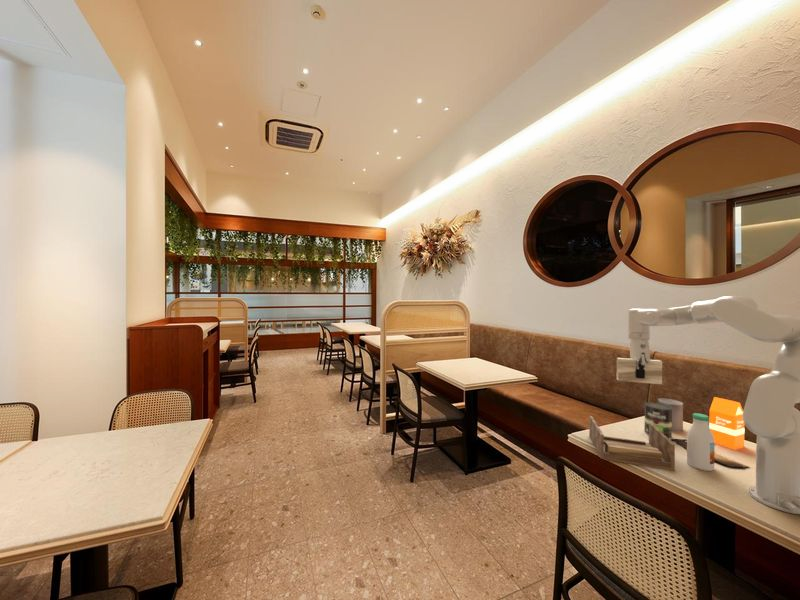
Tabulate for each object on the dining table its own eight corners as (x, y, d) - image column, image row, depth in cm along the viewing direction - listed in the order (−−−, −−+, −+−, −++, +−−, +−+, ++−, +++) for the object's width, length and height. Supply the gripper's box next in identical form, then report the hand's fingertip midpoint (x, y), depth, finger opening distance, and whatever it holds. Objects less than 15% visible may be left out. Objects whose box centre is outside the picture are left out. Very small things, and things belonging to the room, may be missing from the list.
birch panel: (662, 384, 136) (662, 361, 136) (618, 380, 142) (618, 358, 142) (659, 382, 139) (659, 360, 139) (616, 379, 145) (616, 357, 145)
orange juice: (718, 438, 146) (718, 395, 146) (744, 447, 138) (745, 401, 138) (708, 441, 143) (709, 397, 143) (735, 450, 135) (735, 403, 135)
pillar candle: (660, 423, 164) (660, 394, 164) (685, 429, 157) (685, 399, 157) (655, 427, 158) (655, 398, 158) (680, 434, 151) (680, 403, 151)
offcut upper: (662, 458, 122) (662, 453, 122) (608, 451, 128) (608, 446, 128) (656, 453, 126) (656, 448, 126) (605, 446, 132) (605, 441, 132)
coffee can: (670, 442, 142) (670, 411, 142) (642, 434, 150) (642, 405, 150) (673, 435, 149) (674, 406, 149) (646, 428, 157) (646, 400, 157)
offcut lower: (661, 463, 122) (661, 458, 122) (607, 455, 128) (607, 450, 128) (656, 457, 126) (656, 452, 126) (604, 450, 133) (604, 445, 133)
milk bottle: (704, 472, 117) (704, 419, 117) (681, 462, 125) (682, 412, 125) (719, 470, 119) (720, 417, 119) (696, 460, 127) (697, 410, 126)
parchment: (752, 468, 120) (752, 466, 120) (730, 469, 119) (730, 467, 119) (684, 440, 145) (684, 438, 145) (666, 441, 143) (666, 439, 143)
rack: (674, 471, 118) (674, 444, 118) (600, 459, 127) (600, 434, 127) (651, 445, 139) (651, 423, 139) (589, 436, 148) (589, 415, 147)
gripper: (656, 338, 131) (656, 382, 132) (642, 334, 147) (642, 373, 147) (635, 337, 134) (634, 380, 134) (623, 333, 149) (623, 372, 149)
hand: (638, 376), depth 140 cm, fingers closed on birch panel, 3 cm apart
